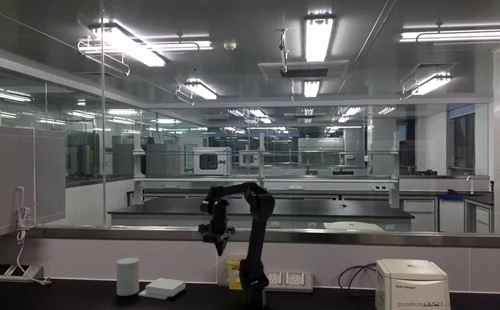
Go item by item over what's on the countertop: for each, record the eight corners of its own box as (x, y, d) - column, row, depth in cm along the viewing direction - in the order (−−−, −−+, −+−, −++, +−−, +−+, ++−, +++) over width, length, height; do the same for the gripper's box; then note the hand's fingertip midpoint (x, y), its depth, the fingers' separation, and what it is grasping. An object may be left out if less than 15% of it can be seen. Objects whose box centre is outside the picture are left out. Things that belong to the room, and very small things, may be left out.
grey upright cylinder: (131, 296, 121) (131, 264, 121) (112, 295, 122) (112, 263, 123) (142, 288, 128) (142, 258, 129) (124, 286, 130) (124, 257, 130)
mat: (179, 289, 127) (179, 287, 127) (164, 299, 117) (164, 297, 117) (154, 285, 131) (154, 284, 131) (138, 295, 121) (138, 293, 121)
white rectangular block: (185, 281, 126) (159, 278, 130) (172, 289, 118) (145, 286, 122) (185, 288, 126) (159, 284, 130) (172, 296, 118) (145, 293, 122)
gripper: (212, 212, 138) (212, 248, 138) (189, 219, 121) (190, 261, 120) (235, 213, 135) (236, 250, 134) (216, 220, 117) (216, 263, 117)
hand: (220, 256), depth 126 cm, fingers closed
